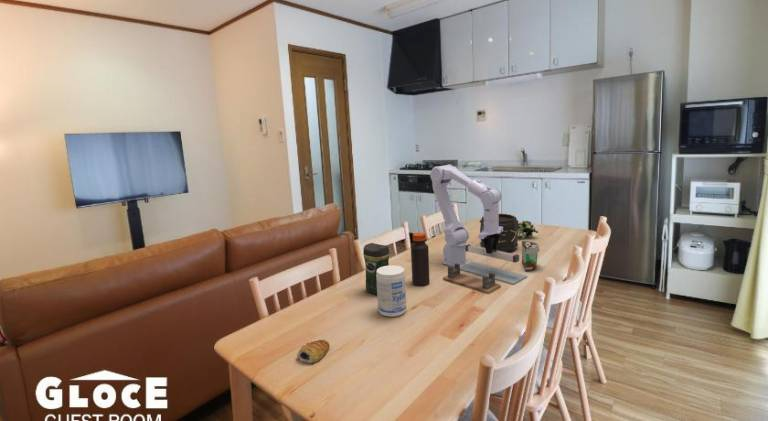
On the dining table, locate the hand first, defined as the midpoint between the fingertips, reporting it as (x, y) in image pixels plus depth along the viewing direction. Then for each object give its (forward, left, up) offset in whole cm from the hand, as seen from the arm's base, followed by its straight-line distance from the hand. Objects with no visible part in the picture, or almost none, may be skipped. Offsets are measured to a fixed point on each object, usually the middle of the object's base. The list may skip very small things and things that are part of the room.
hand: (491, 252), depth 157 cm
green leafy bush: (-14, +53, -9) cm, 56 cm away
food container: (+9, +16, -9) cm, 21 cm away
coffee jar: (-22, -42, -9) cm, 48 cm away
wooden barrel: (-15, +30, -9) cm, 35 cm away
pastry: (-3, -83, -10) cm, 83 cm away
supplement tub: (-6, -50, -9) cm, 51 cm away
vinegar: (-15, -26, -9) cm, 31 cm away
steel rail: (0, 0, -2) cm, 2 cm away
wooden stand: (0, -14, -9) cm, 17 cm away
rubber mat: (0, 0, -9) cm, 9 cm away
